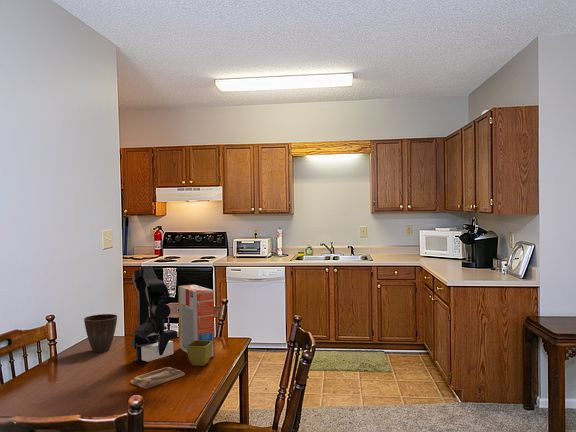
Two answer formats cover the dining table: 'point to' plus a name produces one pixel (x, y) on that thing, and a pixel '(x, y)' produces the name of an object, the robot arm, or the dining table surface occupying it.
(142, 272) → the robot arm
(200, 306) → the pasta box
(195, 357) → the flower pot
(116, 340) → the dining table surface
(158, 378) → the beige rectangular tray
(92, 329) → the plant pot
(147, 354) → the door
